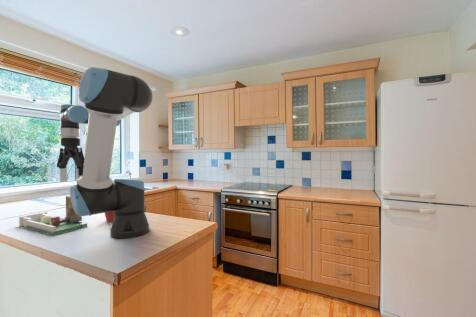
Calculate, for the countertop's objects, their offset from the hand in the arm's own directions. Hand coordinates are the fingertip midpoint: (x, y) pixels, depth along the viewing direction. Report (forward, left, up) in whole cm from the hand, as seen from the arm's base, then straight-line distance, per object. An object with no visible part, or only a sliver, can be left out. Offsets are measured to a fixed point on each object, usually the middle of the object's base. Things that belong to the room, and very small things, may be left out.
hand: (71, 182), depth 113 cm
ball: (+7, +7, -17) cm, 20 cm away
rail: (+3, 0, -20) cm, 21 cm away
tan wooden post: (0, +3, -19) cm, 19 cm away
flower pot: (-11, -14, -21) cm, 27 cm away
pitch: (+6, +7, -20) cm, 22 cm away
